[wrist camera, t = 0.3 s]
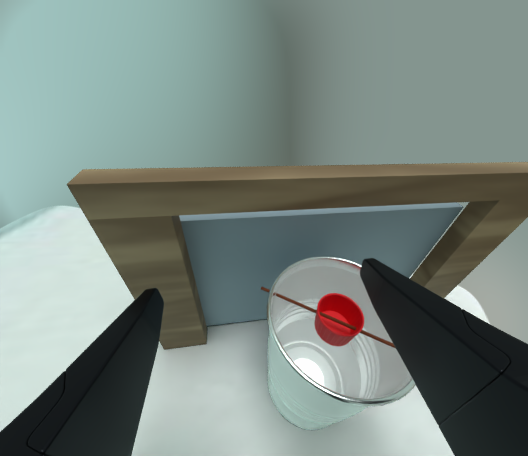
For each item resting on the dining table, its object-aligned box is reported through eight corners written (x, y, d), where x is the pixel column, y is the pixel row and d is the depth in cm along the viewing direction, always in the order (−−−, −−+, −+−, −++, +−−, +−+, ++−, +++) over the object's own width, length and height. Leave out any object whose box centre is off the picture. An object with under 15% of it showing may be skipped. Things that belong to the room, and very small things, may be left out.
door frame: (426, 315, 26) (574, 171, 14) (164, 349, 21) (66, 184, 10) (417, 303, 27) (548, 161, 15) (167, 334, 22) (82, 169, 11)
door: (388, 304, 26) (463, 206, 17) (204, 326, 23) (176, 221, 14) (377, 287, 28) (440, 191, 19) (205, 305, 25) (181, 200, 16)
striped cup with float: (234, 401, 19) (224, 339, 11) (273, 316, 24) (286, 237, 17) (354, 478, 16) (460, 467, 8) (366, 360, 22) (433, 288, 14)
